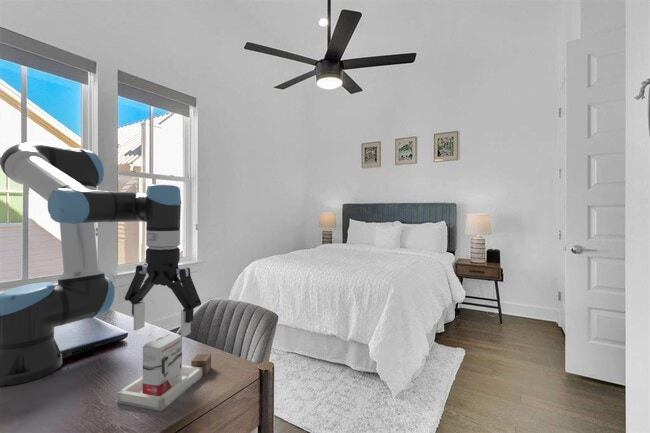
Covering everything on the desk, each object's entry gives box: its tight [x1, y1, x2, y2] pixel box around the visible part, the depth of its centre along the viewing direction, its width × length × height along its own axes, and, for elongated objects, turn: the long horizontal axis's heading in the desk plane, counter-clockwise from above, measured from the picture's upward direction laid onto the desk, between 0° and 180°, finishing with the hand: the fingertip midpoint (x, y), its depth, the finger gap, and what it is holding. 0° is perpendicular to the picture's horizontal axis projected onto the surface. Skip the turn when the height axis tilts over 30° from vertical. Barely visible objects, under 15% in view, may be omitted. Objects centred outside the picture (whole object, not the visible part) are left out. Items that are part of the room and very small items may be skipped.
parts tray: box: [116, 364, 203, 412], centre depth 79 cm, size 12×15×2 cm
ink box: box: [142, 333, 183, 396], centre depth 79 cm, size 9×5×12 cm, turn 167°
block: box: [190, 353, 212, 376], centre depth 88 cm, size 4×4×4 cm
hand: (161, 331), depth 79 cm, fingers open, 13 cm apart
